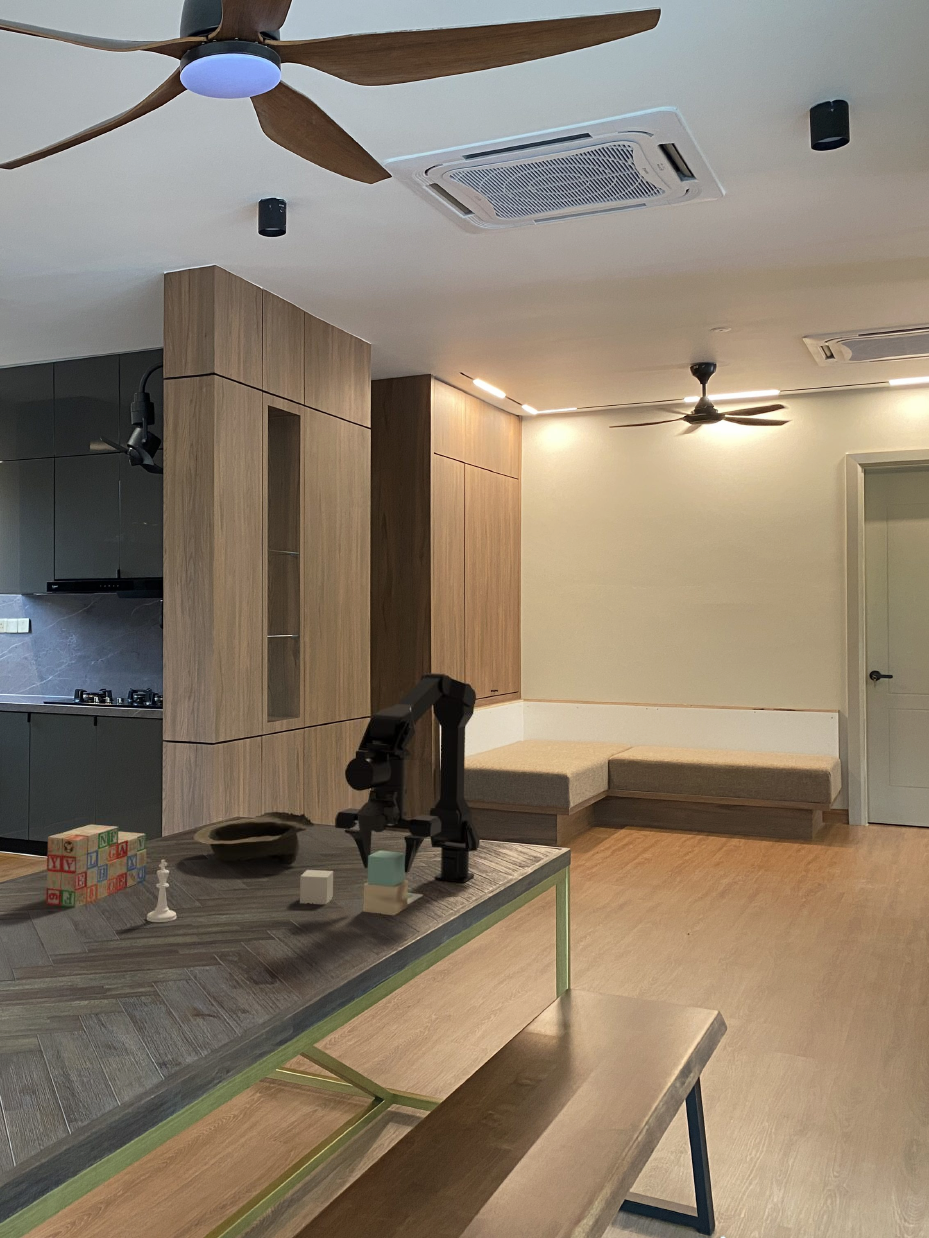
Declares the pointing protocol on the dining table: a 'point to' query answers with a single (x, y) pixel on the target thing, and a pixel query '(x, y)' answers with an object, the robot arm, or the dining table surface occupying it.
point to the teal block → (386, 868)
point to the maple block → (385, 898)
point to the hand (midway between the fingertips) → (386, 869)
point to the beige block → (316, 887)
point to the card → (413, 897)
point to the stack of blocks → (93, 864)
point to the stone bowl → (256, 837)
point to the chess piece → (162, 899)
